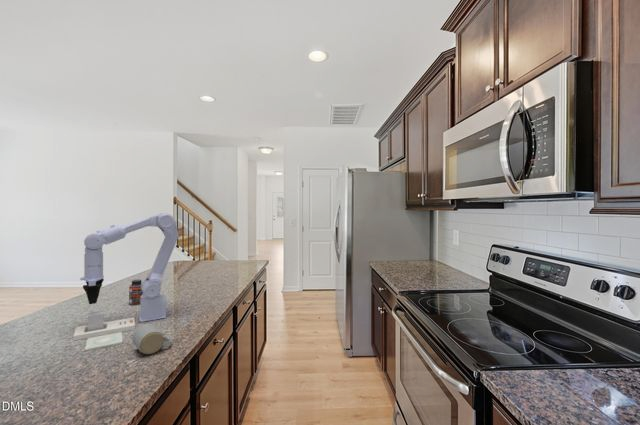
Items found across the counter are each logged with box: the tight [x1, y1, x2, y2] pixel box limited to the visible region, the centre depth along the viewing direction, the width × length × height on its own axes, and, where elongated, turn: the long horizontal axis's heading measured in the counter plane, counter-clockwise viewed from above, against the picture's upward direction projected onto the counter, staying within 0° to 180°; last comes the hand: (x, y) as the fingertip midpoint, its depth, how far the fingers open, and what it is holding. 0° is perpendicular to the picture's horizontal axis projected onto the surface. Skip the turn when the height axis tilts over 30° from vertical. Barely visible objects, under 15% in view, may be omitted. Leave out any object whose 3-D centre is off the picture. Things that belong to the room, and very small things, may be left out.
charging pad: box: [84, 332, 123, 352], centre depth 102 cm, size 10×10×1 cm
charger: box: [87, 310, 105, 332], centre depth 110 cm, size 4×4×7 cm
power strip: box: [72, 317, 136, 341], centre depth 112 cm, size 18×10×2 cm, turn 124°
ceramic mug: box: [132, 323, 173, 355], centre depth 97 cm, size 11×8×8 cm
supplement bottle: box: [128, 278, 143, 306], centre depth 145 cm, size 6×6×11 cm
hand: (93, 300), depth 114 cm, fingers open, 7 cm apart
